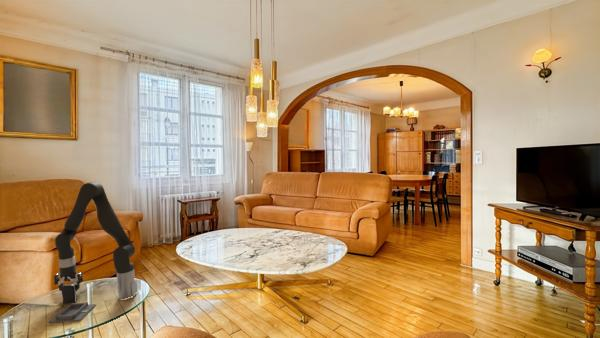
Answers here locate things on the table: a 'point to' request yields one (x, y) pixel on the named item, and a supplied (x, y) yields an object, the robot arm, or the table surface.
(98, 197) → the robot arm
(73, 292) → the battery
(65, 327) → the table surface
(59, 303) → the table surface
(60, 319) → the dock
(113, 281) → the table surface
